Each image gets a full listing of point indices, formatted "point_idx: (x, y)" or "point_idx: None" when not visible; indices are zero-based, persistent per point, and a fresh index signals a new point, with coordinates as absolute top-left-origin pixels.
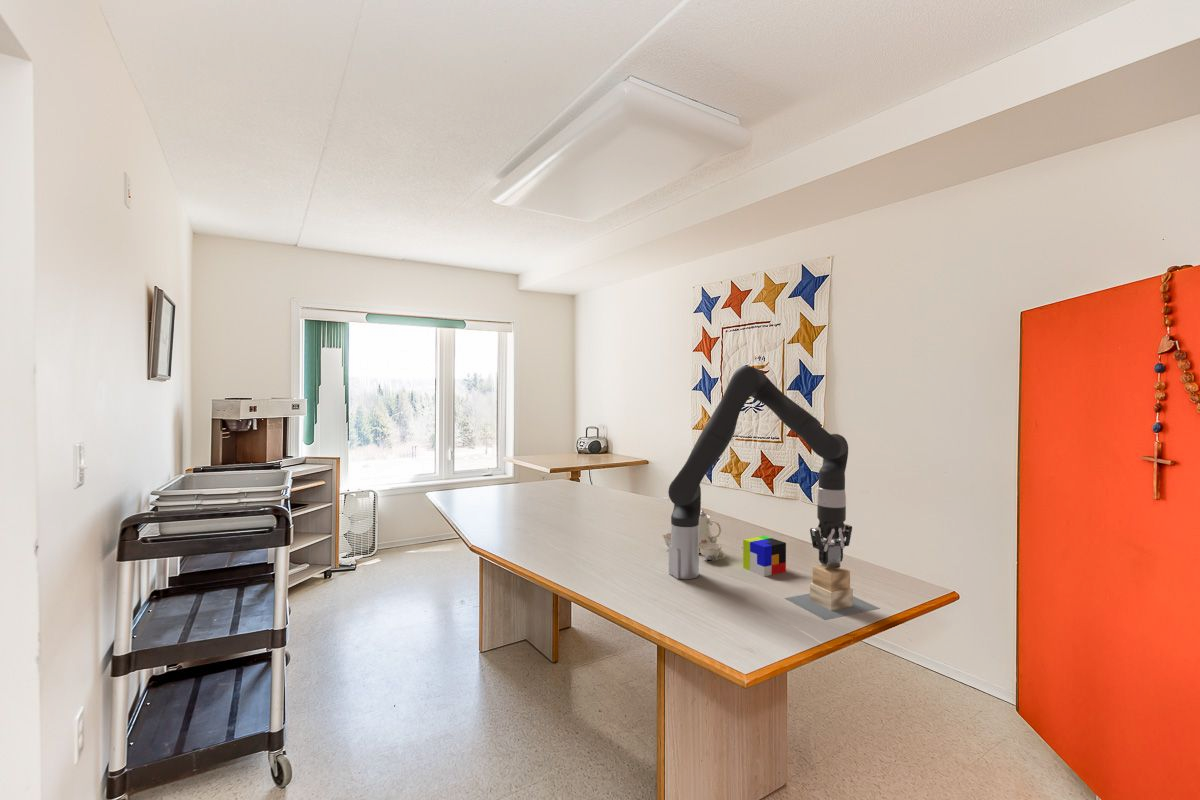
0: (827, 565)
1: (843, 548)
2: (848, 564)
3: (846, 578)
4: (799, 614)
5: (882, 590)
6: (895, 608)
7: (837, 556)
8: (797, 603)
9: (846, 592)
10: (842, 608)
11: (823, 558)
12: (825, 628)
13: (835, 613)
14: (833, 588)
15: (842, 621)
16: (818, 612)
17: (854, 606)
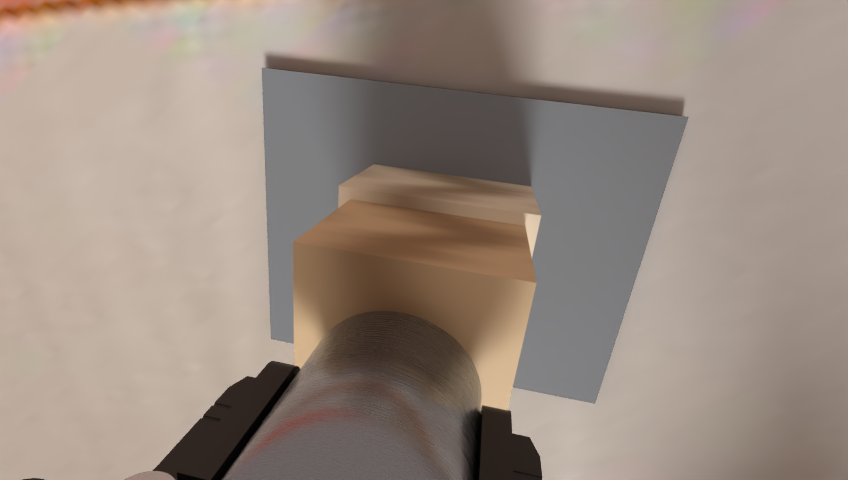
0: (476, 388)
1: (148, 475)
2: (31, 449)
3: (359, 227)
4: (699, 257)
5: (79, 224)
6: (174, 44)
7: (369, 400)
8: (600, 334)
9: (399, 190)
10: (449, 172)
11: (524, 476)
12: (773, 53)
13: (546, 147)
14: (504, 229)
15: (583, 72)
16: (617, 206)
17: (367, 157)
